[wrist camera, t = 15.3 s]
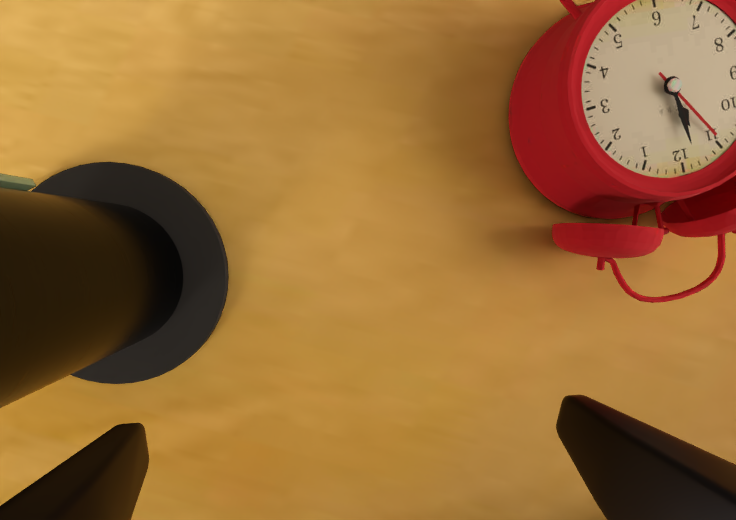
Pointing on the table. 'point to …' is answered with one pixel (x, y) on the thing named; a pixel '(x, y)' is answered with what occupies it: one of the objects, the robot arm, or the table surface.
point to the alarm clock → (632, 124)
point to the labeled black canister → (76, 284)
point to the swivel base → (196, 251)
